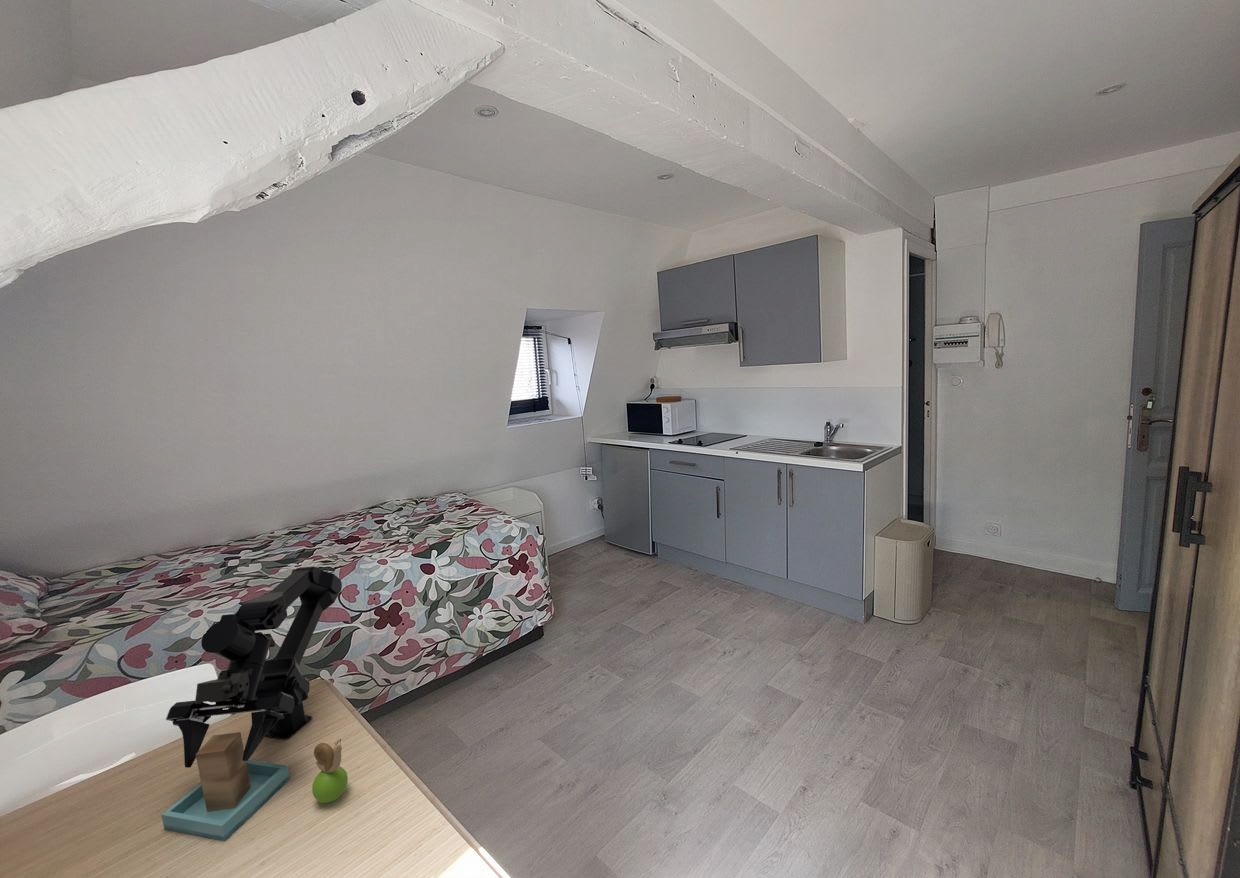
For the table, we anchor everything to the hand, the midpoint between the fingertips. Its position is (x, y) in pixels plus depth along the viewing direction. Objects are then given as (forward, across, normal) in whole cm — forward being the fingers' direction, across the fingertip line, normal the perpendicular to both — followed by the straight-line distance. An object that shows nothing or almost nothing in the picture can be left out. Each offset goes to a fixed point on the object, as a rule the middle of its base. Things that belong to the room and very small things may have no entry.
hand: (216, 764), depth 88 cm
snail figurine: (+7, +18, +6) cm, 20 cm away
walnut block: (+5, 0, +7) cm, 8 cm away
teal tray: (+5, 0, +7) cm, 9 cm away
